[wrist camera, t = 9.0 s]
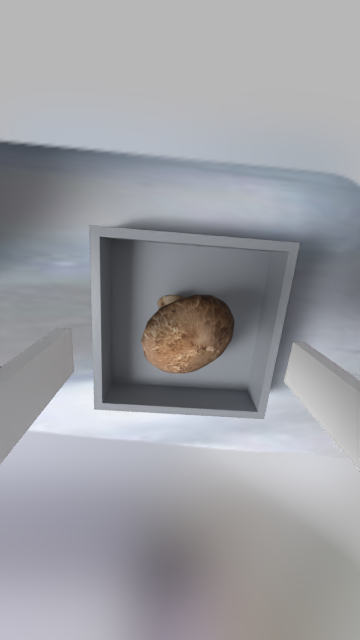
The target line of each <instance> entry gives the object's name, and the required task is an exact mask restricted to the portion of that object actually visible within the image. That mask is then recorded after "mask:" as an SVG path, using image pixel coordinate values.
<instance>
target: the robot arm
mask: <svg viewBox="0 0 360 640" xmlns="http://www.w3.org/2000/svg"><path fill="white" fill-rule="evenodd" d="M73 372H74V366H73V350H72V333H71V328H56V329H55V330H53V331H52V332H51V333H49V334H48V335H46V336H45V337H43V338H42V339H41V340H39V341H38V342H36V343H35V344H33V345H32V346H30V347H29V348H28V349H26V350H25V351H23V352H22V353H20V354H19V355H18V356H16V357H15V358H13V359H12V360H10V361H9V362H8V363H6V364H5V365H3V366H2V367H0V464H1V462H2V461H3V460H4V459H5V457H6V456H7V455H8V454H9V453H10V451H11V450H12V448H13V447H14V446H15V445H16V443H17V442H18V441H19V440H20V439H21V437H22V436H23V435H24V434H25V432H26V431H27V430H28V429H29V427H30V426H31V425H32V423H33V422H34V421H35V420H36V418H37V417H38V416H39V415H40V413H41V412H42V411H43V410H44V408H45V407H46V406H47V405H48V403H49V402H50V401H51V399H52V398H53V397H54V396H55V394H56V393H57V392H58V391H59V389H60V388H61V387H62V386H63V384H64V383H65V382H66V381H67V379H68V378H69V377H70V376H71V374H72V373H73ZM284 383H285V384H286V385H287V386H288V387H289V389H290V390H291V391H292V392H293V393H294V395H295V396H296V397H297V398H298V399H299V400H300V402H301V403H302V404H303V405H304V406H305V408H306V409H307V410H308V411H309V412H310V414H311V415H312V416H313V417H314V418H315V419H316V421H317V422H318V423H319V424H320V425H321V427H322V428H323V429H324V430H325V431H326V433H327V434H328V435H329V436H330V437H331V438H332V440H333V441H334V442H335V443H336V444H337V446H338V447H339V448H340V449H341V450H342V452H343V453H344V454H345V455H346V456H347V458H348V459H349V460H350V461H351V462H352V463H353V465H354V466H355V467H356V468H357V469H358V471H359V472H360V381H359V380H358V379H357V378H355V377H354V376H352V375H351V374H349V373H348V372H347V371H345V370H344V369H342V368H341V367H339V366H338V365H337V364H335V363H334V362H332V361H331V360H330V359H328V358H327V357H325V356H324V355H322V354H321V353H320V352H318V351H317V350H315V349H314V348H312V347H311V346H310V345H308V344H307V343H305V342H293V344H292V349H291V353H290V357H289V362H288V366H287V370H286V374H285V379H284Z"/></svg>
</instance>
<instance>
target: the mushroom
mask: <svg viewBox="0 0 360 640" xmlns="http://www.w3.org/2000/svg"><path fill="white" fill-rule="evenodd" d="M157 304H158V307H159V310H158V311H157V312H156V313H155V314H154V315H153V316H152V317H151V318H150V319H149V320H148V322H147V325H146V327H145V330H144V333H143V336H142V338H141V342H142V347H143V351H144V356H145V358H146V359H147V361H148V362H150V363H151V364H152V365H154V366H155V367H157V368H158V369H160V370H162V371H164V372H167V373H175V374H185V373H189V372H193V371H197V370H199V369H201V368H203V367H204V366H206V365H208V364H210V363H211V362H213V361H214V360H215V359H217V358H218V357H219V356H221V355H222V354H223V352H224V351H225V349H226V348H227V346H228V345H229V343H230V342H231V340H232V337H233V331H234V317H233V315H232V313H231V311H230V309H229V307H228V305H227V304H226V303H225V302H224V301H222V300H220V299H218V298H216V297H214V296H212V295H192V296H189V297H186V298H185V297H182V296H179V295H166V296H163V297H161V298H160V299H159V300H158V302H157Z"/></svg>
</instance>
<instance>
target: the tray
mask: <svg viewBox="0 0 360 640" xmlns="http://www.w3.org/2000/svg"><path fill="white" fill-rule="evenodd" d="M89 227H90V264H91V301H92V339H93V376H94V409H97V410H114V411H132V412H150V413H167V414H185V415H202V416H220V417H238V418H255V419H264V416H265V412H266V407H267V402H268V397H269V392H270V387H271V382H272V378H273V373H274V368H275V363H276V358H277V353H278V349H279V344H280V339H281V334H282V329H283V324H284V319H285V315H286V310H287V305H288V300H289V295H290V290H291V285H292V281H293V276H294V271H295V266H296V261H297V256H298V251H299V247H300V243H298V242H286V241H274V240H261V239H249V238H237V237H225V236H213V235H201V234H189V233H177V232H165V231H153V230H140V229H128V228H116V227H104V226H92V225H89ZM166 295H179V296H182V297H185V298H186V297H189V296H192V295H212V296H214V297H216V298H218V299H220V300H222V301H224V302H225V303H226V304H227V305H228V307H229V309H230V311H231V313H232V315H233V317H234V331H233V337H232V340H231V342H230V343H229V345H228V346H227V348H226V349H225V351H224V352H223V354H222V355H221V356H219V357H218V358H217V359H215V360H214V361H213V362H211V363H210V364H208V365H206V366H204V367H203V368H201V369H199V370H197V371H193V372H189V373H185V374H175V373H167V372H164V371H162V370H160V369H158V368H157V367H155V366H154V365H152V364H151V363H150V362H148V361H147V359H146V358H145V356H144V351H143V347H142V342H141V338H142V336H143V333H144V330H145V327H146V325H147V322H148V320H149V319H150V318H151V317H152V316H153V315H154V314H155V313H156V312H157V311H158V310H159V307H158V304H157V302H158V300H159V299H160V298H161V297H163V296H166Z"/></svg>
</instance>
